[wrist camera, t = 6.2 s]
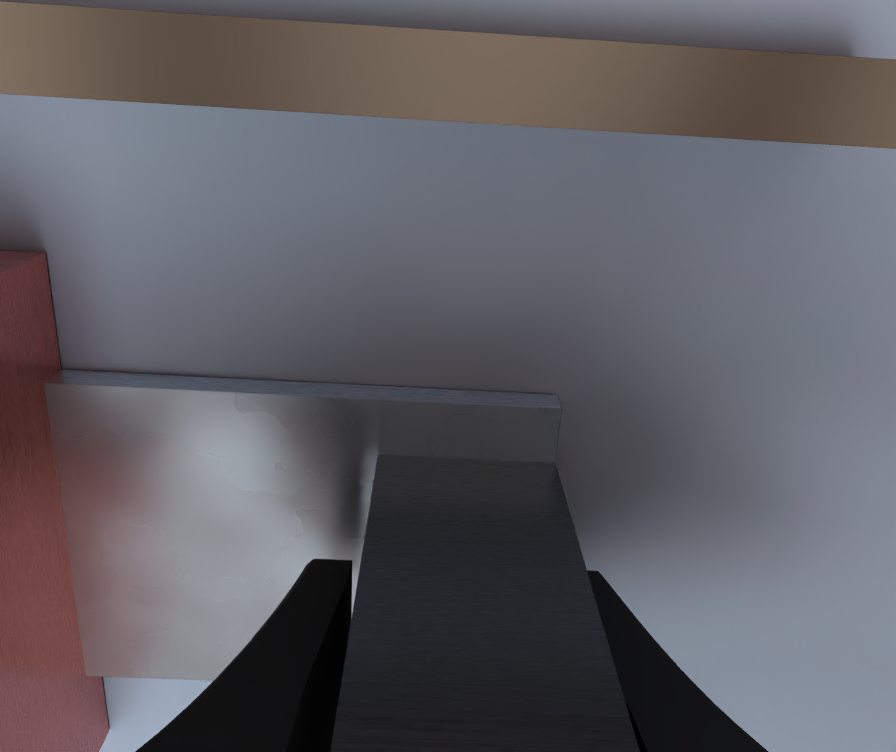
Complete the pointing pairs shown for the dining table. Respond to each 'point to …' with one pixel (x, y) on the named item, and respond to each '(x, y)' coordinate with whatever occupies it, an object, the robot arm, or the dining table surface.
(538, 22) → the dining table surface
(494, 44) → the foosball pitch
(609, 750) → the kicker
